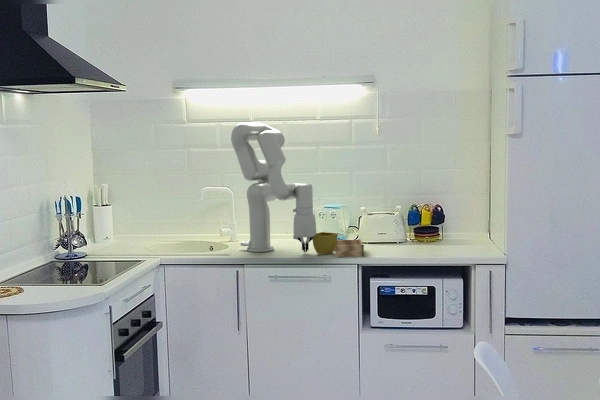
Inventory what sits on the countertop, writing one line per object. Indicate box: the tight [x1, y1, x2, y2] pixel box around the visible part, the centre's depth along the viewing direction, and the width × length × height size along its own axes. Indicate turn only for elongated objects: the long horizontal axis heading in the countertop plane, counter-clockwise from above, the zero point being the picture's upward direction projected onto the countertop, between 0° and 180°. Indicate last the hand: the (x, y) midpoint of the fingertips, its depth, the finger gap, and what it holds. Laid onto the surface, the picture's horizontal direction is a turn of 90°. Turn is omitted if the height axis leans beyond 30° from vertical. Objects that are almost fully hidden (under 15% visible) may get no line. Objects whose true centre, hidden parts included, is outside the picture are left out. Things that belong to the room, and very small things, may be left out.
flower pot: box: [311, 231, 339, 256], centre depth 292 cm, size 9×9×9 cm
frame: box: [333, 238, 365, 258], centre depth 292 cm, size 12×15×5 cm
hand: (305, 251), depth 292 cm, fingers closed
